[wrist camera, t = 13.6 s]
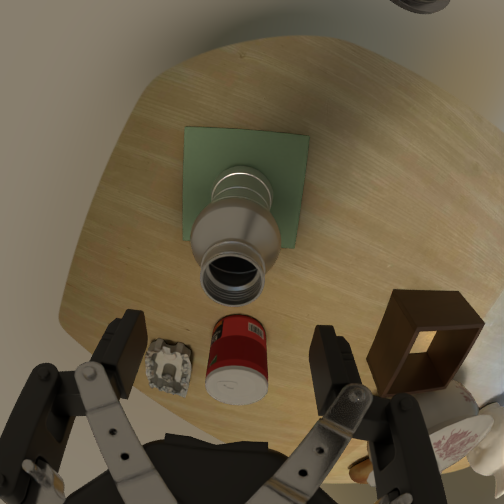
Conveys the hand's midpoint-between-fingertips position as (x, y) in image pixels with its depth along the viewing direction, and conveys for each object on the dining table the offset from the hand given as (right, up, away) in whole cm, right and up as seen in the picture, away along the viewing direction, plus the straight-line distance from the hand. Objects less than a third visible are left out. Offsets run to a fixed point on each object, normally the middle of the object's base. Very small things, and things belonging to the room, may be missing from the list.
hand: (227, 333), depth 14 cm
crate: (+28, -9, +32) cm, 44 cm away
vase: (+72, -45, +51) cm, 99 cm away
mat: (0, +11, +22) cm, 25 cm away
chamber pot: (+35, -28, +42) cm, 62 cm away
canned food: (-1, -8, +32) cm, 33 cm away
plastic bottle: (0, +11, +22) cm, 24 cm away
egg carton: (-13, -15, +36) cm, 40 cm away
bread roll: (+35, -56, +56) cm, 87 cm away
